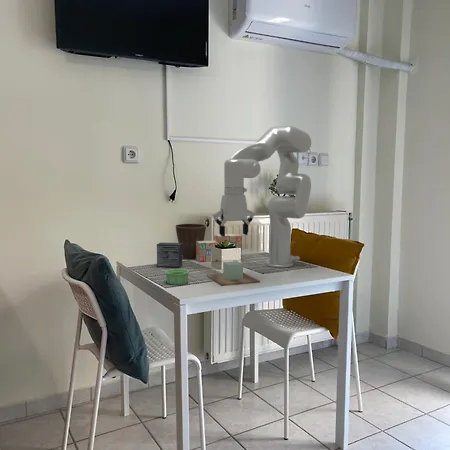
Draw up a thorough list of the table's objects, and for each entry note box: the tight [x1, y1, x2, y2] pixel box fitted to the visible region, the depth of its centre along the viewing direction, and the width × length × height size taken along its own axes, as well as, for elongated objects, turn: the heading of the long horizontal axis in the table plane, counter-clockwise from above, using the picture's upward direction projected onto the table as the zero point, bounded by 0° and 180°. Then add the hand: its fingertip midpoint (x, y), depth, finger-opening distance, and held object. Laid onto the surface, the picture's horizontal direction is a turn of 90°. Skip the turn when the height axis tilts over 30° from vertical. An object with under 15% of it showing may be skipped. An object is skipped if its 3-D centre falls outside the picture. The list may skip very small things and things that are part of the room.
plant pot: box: [175, 223, 207, 260], centre depth 223 cm, size 15×15×16 cm
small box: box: [156, 242, 183, 269], centre depth 203 cm, size 11×6×10 cm, turn 84°
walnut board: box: [206, 271, 261, 287], centre depth 180 cm, size 16×16×1 cm
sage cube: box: [222, 260, 244, 280], centre depth 180 cm, size 6×6×6 cm
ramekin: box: [165, 268, 190, 286], centre depth 175 cm, size 9×9×4 cm
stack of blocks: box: [195, 233, 243, 263], centre depth 218 cm, size 21×6×12 cm, turn 108°
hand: (234, 235), depth 179 cm, fingers open, 9 cm apart
